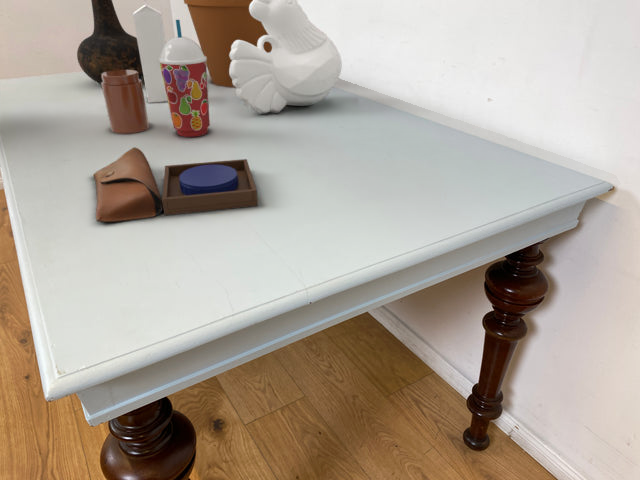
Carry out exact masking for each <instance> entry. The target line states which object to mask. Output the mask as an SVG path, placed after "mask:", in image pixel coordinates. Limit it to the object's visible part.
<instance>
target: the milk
mask: <svg viewBox="0 0 640 480" xmlns="http://www.w3.org/2000/svg"><path fill="white" fill-rule="evenodd" d="M132 19H133V25H134V30H135V35H136V36H135V37H136V38H137V42H138V47H139V53H140V59H141V64H142V70H143V80H144V86H145V92H146V97H147V98H146V99H147V102H148V103H150V104H151V103H152V104H153V103H165V102H167V103H168V99H167V95H166V90H165V85H164V81H163V76H162V72H161V67H160V62H159V58H160V56H161V52H162V49H163V47H164V45H165V44H166V43H167V41H166V35H165V29H164V28H165V27H164V23H163V17H162V12H161V11H160V10H158V9H157V8H155V7H153V6H151V5H150V4H148V3H147V0H144V5H142V6H141V7H139V8H138V9H136V10H135V11H134V12H133V13H132Z"/></svg>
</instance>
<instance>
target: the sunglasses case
mask: <svg viewBox="0 0 640 480" xmlns="http://www.w3.org/2000/svg"><path fill="white" fill-rule="evenodd" d="M93 178H94V181H95V189H96V208H95V220H96V222H101V223H117V222H120V223H121V222H129V221H137V220H142V219H149V218H155V217H157V216H158V215H159V214H160V213H161V212H162V210H163V203H162V194H161V193H160V190H159V186H158V183H157V181H156V179H155V176H154V173H153V170H152V168H151V165H150V163H149V161H148V159H147V156H146V155H145V153H144V152H143V151H142V150H141V149H140V148H139V147H135V146H134V147H132V148H130V149H129V150H127V151H125V152H124V153H123V154H122V155H121V156H120V157H119V158H117V159H116V160H115V161H113V162H111V163H109V164H108V165H106V166H104V167H103V168H101V169H99V170H97V171H96V172H95V173H93Z"/></svg>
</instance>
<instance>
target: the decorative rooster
mask: <svg viewBox="0 0 640 480" xmlns="http://www.w3.org/2000/svg"><path fill="white" fill-rule="evenodd" d="M249 12H250V14H251V16H252V17H253V18H255V19H256V20H258V21H260V22H261V23H262V25H263V27H264V28H265V30H266V32H267V33H268V35H263V36H262V37H260V38H259V40H258V42H257V47H256V46H254V45H252V44H250V43H248V42H245V41H242V40H236V41H234V43H233V44H232V46H231V52H230V54H229V56H230V59H231V60H232V62H231V64H230V68H229V75H230V77H231V78H232V83H233V85H234V86H235V87H234V88H236V89H235V95H236V96H237V99H238V100H239V101H241V102H242V103H243V105H245V106H247V107H250V108H251V109H252V110H254V111H255V112H257V113H259V114H261V115H265V114H268V113H271V114H272V113H274V114H276V113H280V112H281V111H282V110H283V109H284V108H285V107H286V106H293V107H294V106H296V107H306V106H311V105H313V104H316V103H318V102H320V101H321V100H323V99H324V98H325V97H326V96H327V95H328V94H329V92H330V91H331V90H332V89H333V88H334V85H336V83H337V81H338V80H339V77H340V75H341V72H342V68H343V62H342V58H341V55H340V53H339V50H338V48H337V46H336V45H335V43H334V41H332V40H331V38H330V37H328V35H327V34H326V33H325V32H324V31H322V30H321V29H320V28H319V27H317V26H316V25H315V24H313V22H311V20H310V19H309V17H308V15H307V13H306V12H305V11H304V10H303V7H302V6H301V5H300V4H299V3H298V0H253V1H252V2H251V4H250V6H249ZM264 42H269V43H270V44H271V45H272V50H271V52H269V53H267V52H266V51H265V50H264V47H263V45H264Z"/></svg>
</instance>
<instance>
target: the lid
mask: <svg viewBox="0 0 640 480" xmlns="http://www.w3.org/2000/svg"><path fill="white" fill-rule="evenodd" d="M179 180H180V182H179V183H180V190H181V191H182V193H183V194H184V195H197V194H207V193H218V192H228V191H235V190H236V189H237V188H238V185H239V183H238V176H237V171H236V170H235V169H233V168H231V167H229V166H225V165H202V166H197V167H193V168H190V169H188V170H185V171H184V172H182V173H181V174H180V177H179Z"/></svg>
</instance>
